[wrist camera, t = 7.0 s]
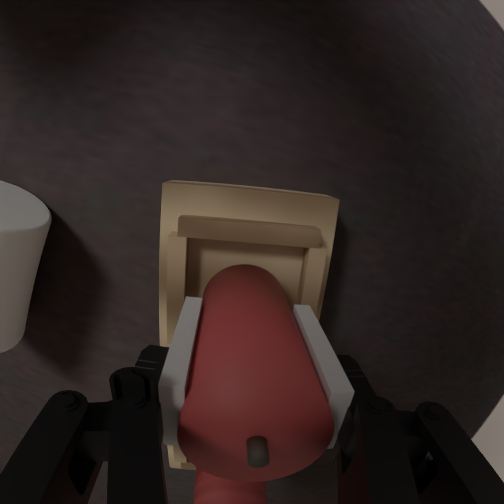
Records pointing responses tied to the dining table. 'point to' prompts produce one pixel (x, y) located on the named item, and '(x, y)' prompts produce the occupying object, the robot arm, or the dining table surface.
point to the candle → (251, 384)
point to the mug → (19, 257)
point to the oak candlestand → (234, 253)
